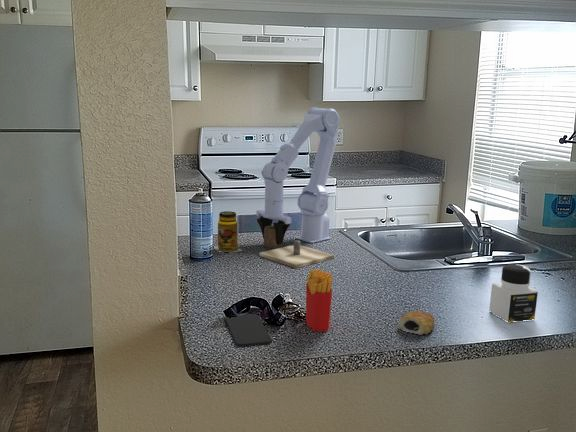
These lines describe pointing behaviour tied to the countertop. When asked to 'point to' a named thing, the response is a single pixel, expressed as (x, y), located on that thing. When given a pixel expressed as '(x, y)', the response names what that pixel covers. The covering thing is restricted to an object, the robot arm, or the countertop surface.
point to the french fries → (318, 300)
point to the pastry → (417, 322)
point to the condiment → (227, 232)
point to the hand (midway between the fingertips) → (272, 241)
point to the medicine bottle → (514, 294)
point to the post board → (296, 255)
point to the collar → (270, 237)
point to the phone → (248, 330)
